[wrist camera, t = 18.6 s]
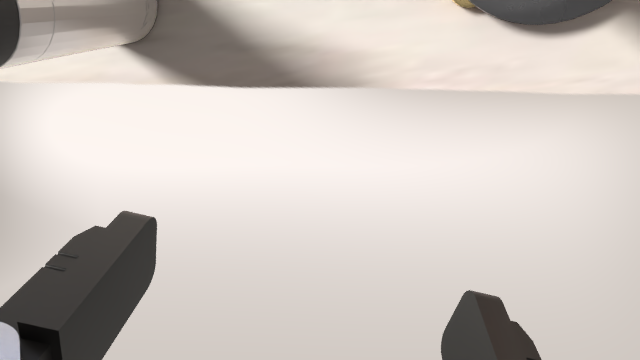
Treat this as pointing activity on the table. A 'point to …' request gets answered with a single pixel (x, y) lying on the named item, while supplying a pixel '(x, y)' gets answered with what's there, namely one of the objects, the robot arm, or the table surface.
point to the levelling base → (534, 9)
